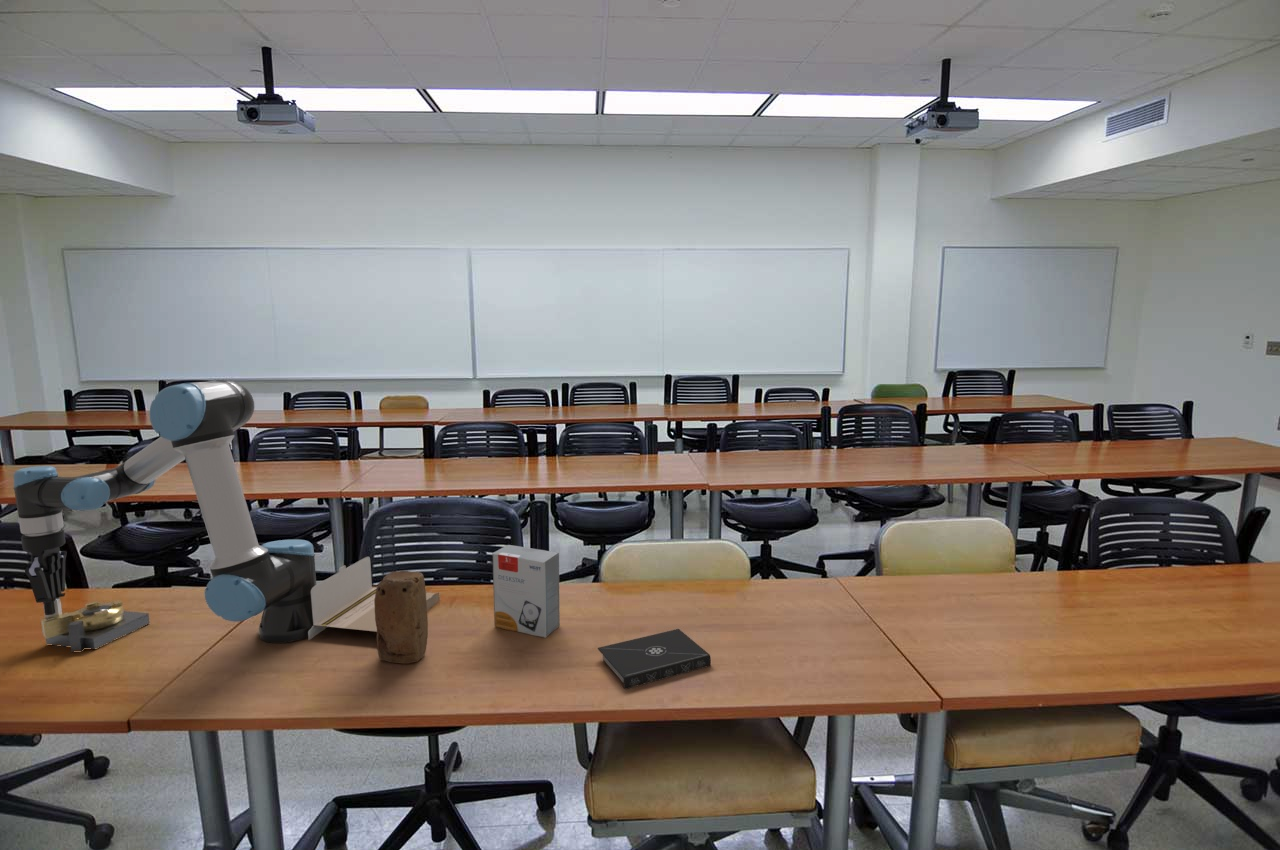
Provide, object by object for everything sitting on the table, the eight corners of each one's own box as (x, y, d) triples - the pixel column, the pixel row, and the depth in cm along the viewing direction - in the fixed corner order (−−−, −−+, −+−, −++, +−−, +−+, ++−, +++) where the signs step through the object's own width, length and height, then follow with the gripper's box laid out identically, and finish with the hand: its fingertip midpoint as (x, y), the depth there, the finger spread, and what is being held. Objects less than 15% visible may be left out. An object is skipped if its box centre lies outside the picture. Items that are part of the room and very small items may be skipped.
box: (372, 657, 148) (368, 599, 146) (297, 648, 152) (292, 592, 150) (447, 596, 182) (445, 549, 180) (384, 591, 186) (381, 544, 184)
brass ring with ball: (117, 609, 165) (115, 594, 164) (129, 620, 159) (127, 604, 158) (40, 630, 153) (37, 615, 153) (49, 643, 147) (46, 626, 147)
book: (624, 691, 134) (624, 678, 133) (597, 659, 147) (597, 647, 147) (711, 667, 143) (711, 655, 143) (678, 639, 157) (678, 628, 156)
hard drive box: (493, 627, 162) (490, 553, 159) (510, 615, 169) (507, 543, 166) (546, 638, 156) (544, 561, 153) (561, 625, 163) (559, 551, 160)
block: (432, 650, 151) (427, 569, 148) (419, 666, 143) (414, 582, 140) (387, 648, 151) (382, 568, 148) (372, 665, 144) (367, 581, 141)
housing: (149, 624, 164) (146, 598, 163) (85, 654, 149) (82, 626, 148) (104, 619, 167) (101, 594, 166) (37, 649, 151) (33, 621, 150)
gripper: (38, 524, 155) (50, 615, 159) (5, 541, 143) (19, 639, 147) (76, 522, 158) (87, 611, 161) (47, 538, 146) (59, 634, 149)
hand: (54, 625), depth 154 cm, fingers closed
